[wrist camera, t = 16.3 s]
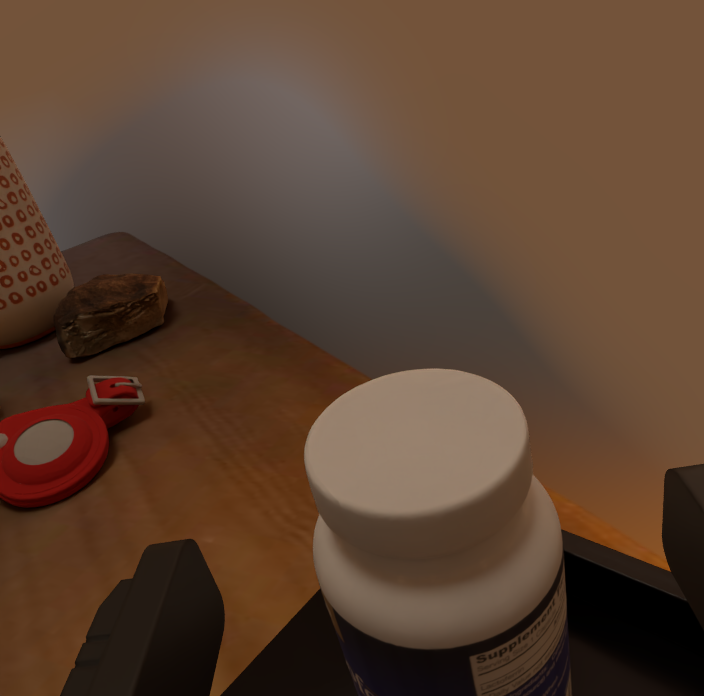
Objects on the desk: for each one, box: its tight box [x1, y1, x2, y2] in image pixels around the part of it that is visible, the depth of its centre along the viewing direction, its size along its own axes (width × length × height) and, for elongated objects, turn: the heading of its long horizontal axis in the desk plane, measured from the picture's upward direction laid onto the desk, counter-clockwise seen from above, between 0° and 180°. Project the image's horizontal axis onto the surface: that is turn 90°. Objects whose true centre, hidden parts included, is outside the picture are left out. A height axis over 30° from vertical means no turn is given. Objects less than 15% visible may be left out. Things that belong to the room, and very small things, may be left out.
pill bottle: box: [304, 369, 572, 696], centre depth 15 cm, size 6×6×10 cm
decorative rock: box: [53, 274, 168, 358], centre depth 63 cm, size 12×6×11 cm
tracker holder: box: [0, 376, 145, 508], centre depth 44 cm, size 12×4×10 cm
